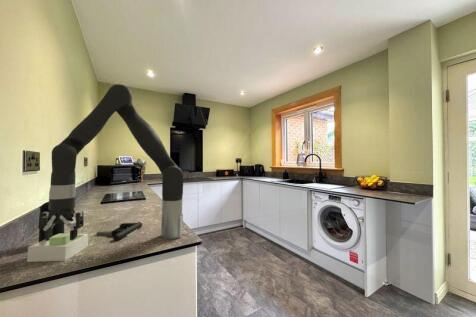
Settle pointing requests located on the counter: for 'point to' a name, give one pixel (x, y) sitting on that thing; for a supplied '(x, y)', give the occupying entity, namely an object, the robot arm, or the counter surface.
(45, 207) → the aerosol can
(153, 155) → the robot arm
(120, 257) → the counter surface
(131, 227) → the door handle
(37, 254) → the white bin
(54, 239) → the green block
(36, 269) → the counter surface
